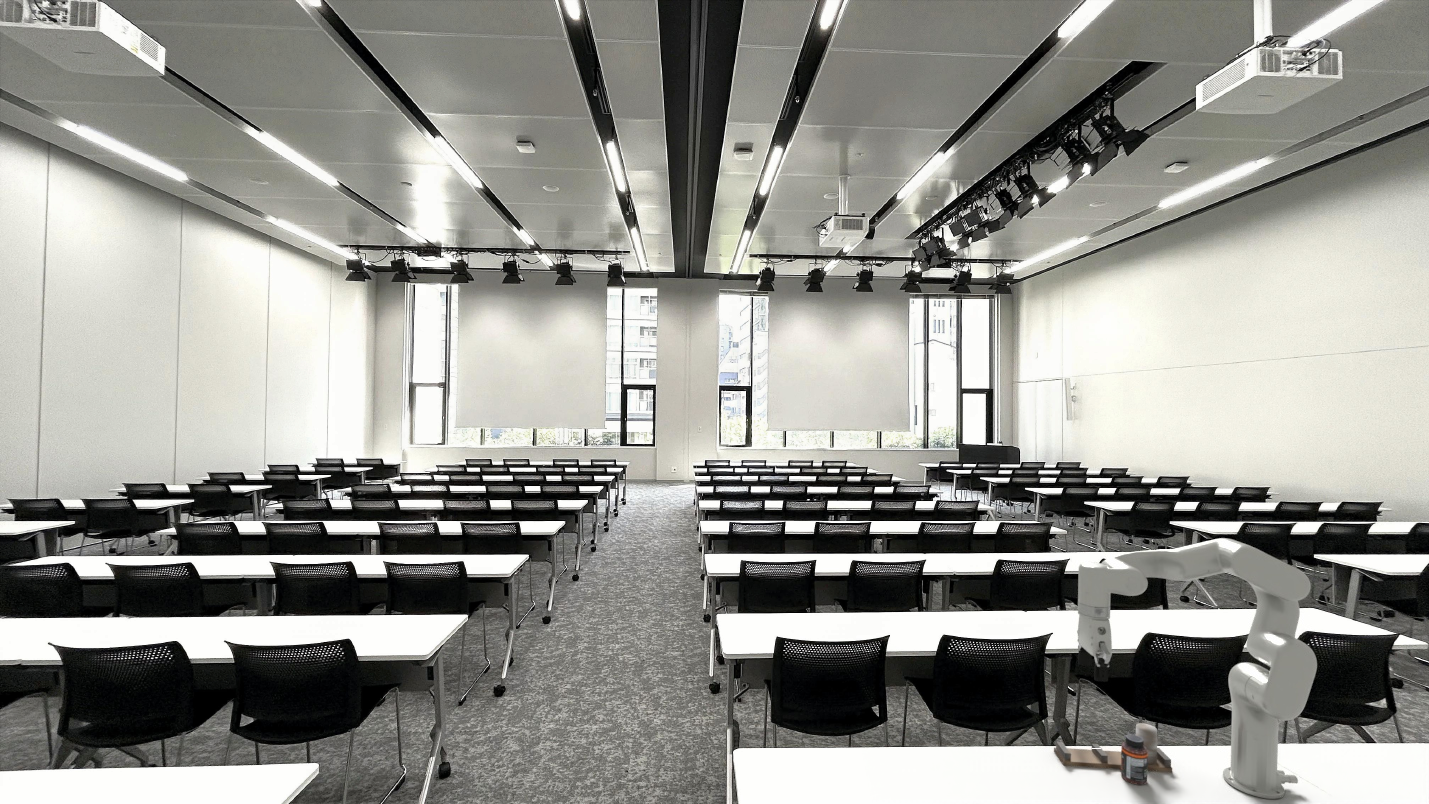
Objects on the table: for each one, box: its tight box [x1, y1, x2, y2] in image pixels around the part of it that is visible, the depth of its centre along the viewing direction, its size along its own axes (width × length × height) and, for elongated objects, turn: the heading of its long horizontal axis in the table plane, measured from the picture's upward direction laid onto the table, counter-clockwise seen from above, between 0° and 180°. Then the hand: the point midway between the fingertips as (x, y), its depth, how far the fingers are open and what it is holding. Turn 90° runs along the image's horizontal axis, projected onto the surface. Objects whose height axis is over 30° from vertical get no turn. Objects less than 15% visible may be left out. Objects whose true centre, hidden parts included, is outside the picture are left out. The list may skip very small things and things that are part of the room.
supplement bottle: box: [1120, 733, 1148, 786], centre depth 178 cm, size 6×6×11 cm
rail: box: [1053, 722, 1173, 773], centre depth 186 cm, size 28×7×10 cm, turn 84°
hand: (1092, 672), depth 179 cm, fingers open, 9 cm apart
